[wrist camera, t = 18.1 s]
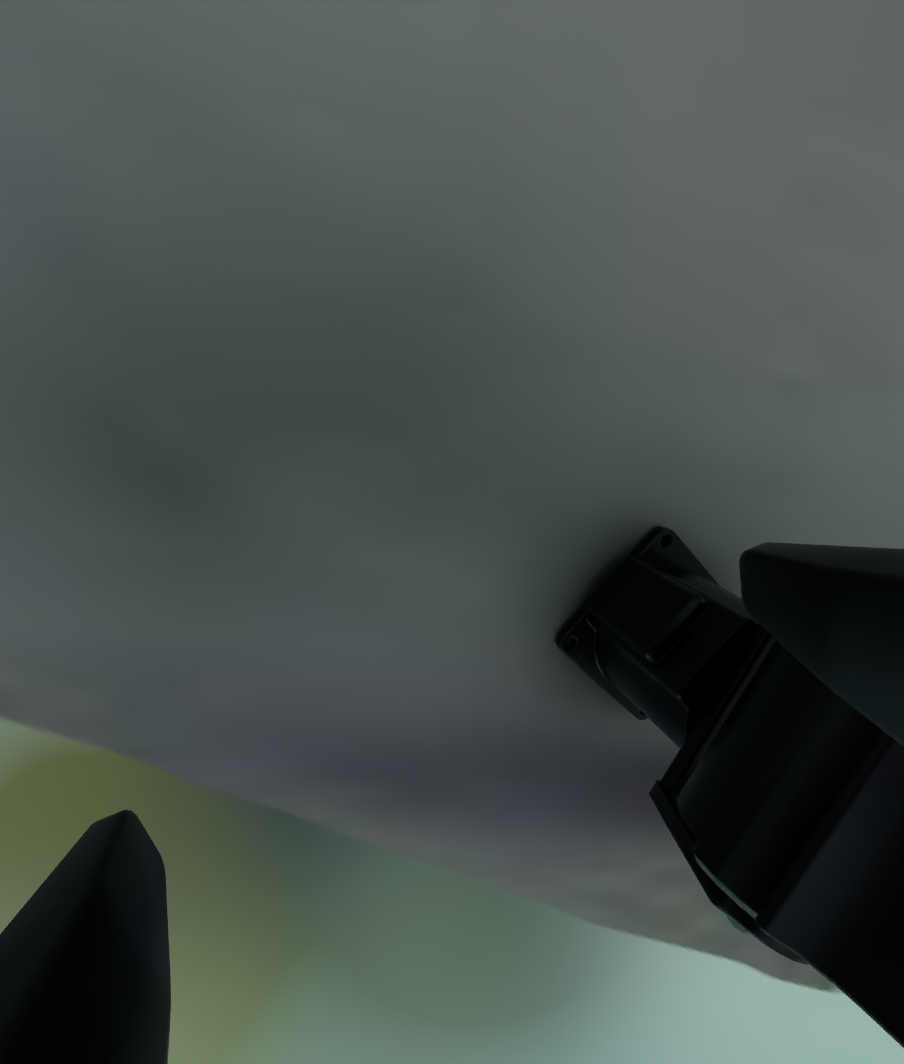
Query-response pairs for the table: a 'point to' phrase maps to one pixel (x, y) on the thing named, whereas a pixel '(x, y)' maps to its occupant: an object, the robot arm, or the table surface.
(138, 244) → the table surface
